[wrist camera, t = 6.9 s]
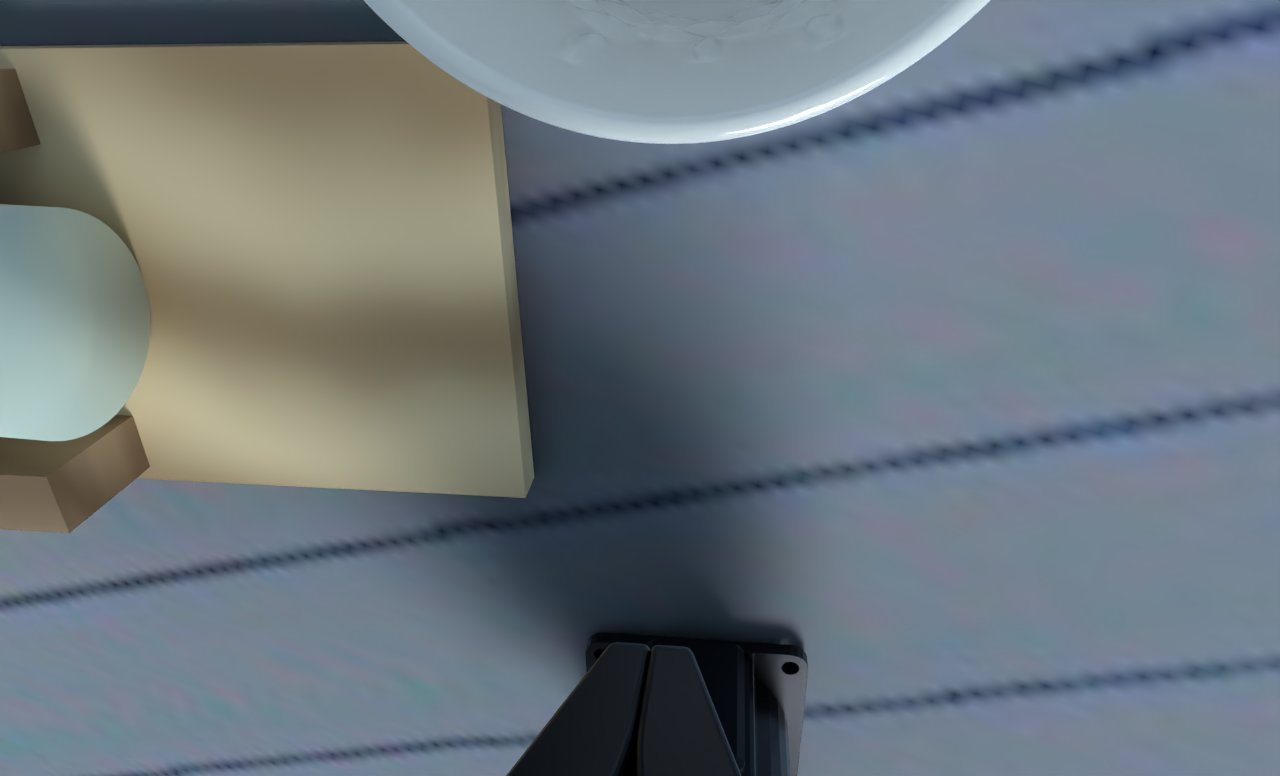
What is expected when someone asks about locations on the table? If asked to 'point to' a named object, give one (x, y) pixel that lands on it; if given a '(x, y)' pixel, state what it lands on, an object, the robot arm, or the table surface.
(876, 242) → the table surface
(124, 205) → the cradle board
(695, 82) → the white cup
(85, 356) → the bottle
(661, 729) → the robot arm
